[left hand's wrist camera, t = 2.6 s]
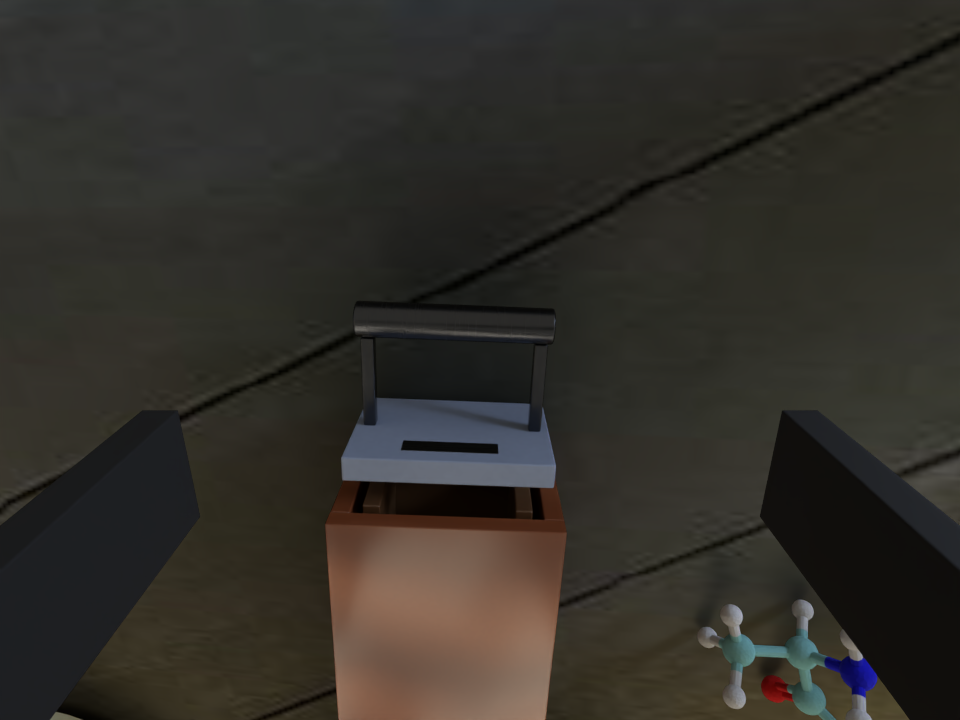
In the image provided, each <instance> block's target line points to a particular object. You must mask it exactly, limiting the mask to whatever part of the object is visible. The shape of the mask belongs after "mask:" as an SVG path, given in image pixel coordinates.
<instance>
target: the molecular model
mask: <svg viewBox="0 0 960 720" xmlns="http://www.w3.org/2000/svg"><path fill="white" fill-rule="evenodd" d="M792 613H793V615H794V616H795V617H796V618H797V628H796V636H794V637H791V638H790V639H789V640H788V641H787V642H786V643H785V646H767V645H753V643H752V642H751V640H750V639H749V638H748V637H746V636H745V635H742V634H741V633H740V628H739V625H740V624H741V622H742V619H743V616H742V612H741V610H740V609H739V608H738V607H737V606H735V605H732V604H727V605H725V606H723V607H722V609H721V611H720V616H721V619H722V621H723V622H724V623H725V624H726V625H728V628H729V633H730V634H729V635H727V636H726V637H725V639H724V638H721V637H719V636H717V634H716V632H715V631H714V630H713V629H712V628H710V627H702V628H701V629H700V630H699V631H698V634H697V637H698V641H699V642H700V644H701V645H702V646H704V647H707V648H712V647H714V646H717V647H719V648H722V651H723V654H724V656H725V658H726V659H727V660H728V661H729V662H730V663H731V673H730V683H729V685H727V686H726V687H725V688H724V690H723V699H724V701H725V703H726V704H727V705H728V706H729V707H731V708H734V709H740V708H742V707H743V706H744V704H745V702H746V696H745V693H744V691H743V690H742V689H741V680H742V669H743V667H745V666H748V665H750V664H751V663H752V662H753V660H754V658H755V656H760V657H780V658H787V660H788V661H789V662H790V663H791V664H792V665H793V666H794V667H796V668H798V669H799V675H800V681H801V682H798V683H797V684H796V685H795V686H794V685H789V684H785V682H784V681H783V680H782V679H781V678H779V677H777V676H774V675H769V676H766V677H765V678H764V679H763V681H762V683H761V688H762V692H763V694H764V695H765V696H766V698H767V699H769V700H770V701H773V702H777V703H779V702H782V701H784V700H785V699H786V700H789V701H793V702H794V703H795V705H796V706H797V707H798V708H799V709H800V710H801V711H802V712H804V713H805V714H809V715H819V716H820V717H821V718H822V719H823V720H836V719H835V718H834V717H833V716H832V715H831V714H830V713H829V712H828V711H827V709H826V708H825V706H826V699H825V696H824V693H823V692H822V690H821V689H820V688H819V687H818V686H817V685H815V684H814V683H812V680H811V674H810V669H812V668H814V667H815V666H816V665H817V664H818V665H820V666H823V667H826V668H828V669H831V670H834V671H837V672H839V673H840V674H841V677H842V679H843V681H844V682H845V683H846V684H847V685H848V686H849V687H851V688H852V709H851V710H850V711H848V712H847V714H846V720H872V719H871V717H870V716H869V715H868V714H867V713H866V692H865V691H868V690H871V689H872V688H873V687H874V686H875V684H876V682H877V674H876V673H875V672H874V670H873V669H872V668H871V666H870V665H869V664H868V662H867V661H866V660H865V659H864V658H862V654H861V653H860V651H859V650H858V649H857V647H856V646H855V645H854V643H853V642H852V641H851V639H850V638H849V636H848V635H847V634H846V632H845V631H844V630H843V629H842V630H841V632H840V639H841V641H842V643H843V645H844V646H845V647H846V648H848V651H849V656H847V657H846V658H844V659H843V660H842V661H839V660H837V659H834V658H831V657H828V656H825V655H822V654H819V653H818V650H817V648H816V646H815V645H814V643H813V642H812V641H810V640H809V639H808V620H810V619H811V618H812V616H813V614H814V611H813V608H812V606H811V604H810V603H808V602H807V601H805V600H796V601H795V602H794V603H793V604H792Z"/></svg>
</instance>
